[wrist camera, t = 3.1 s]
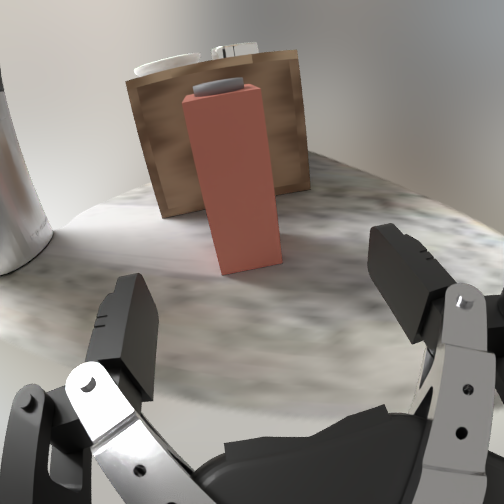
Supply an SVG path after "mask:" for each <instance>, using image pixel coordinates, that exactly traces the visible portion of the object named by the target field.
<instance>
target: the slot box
mask: <svg viewBox="0 0 504 504" xmlns="http://www.w3.org/2000/svg"><path fill="white" fill-rule="evenodd" d="M240 77H242V78H243V82H244V85H245V84H251V85H254V86H256V87H258V88H261V94H262V101H263V108H264V115H265V122H266V130H267V137H268V145H269V152H270V160H271V168H272V176H273V184H274V192H275V195H281V194H286V193H292V192H298V191H304V190H310V174H309V160H308V149H307V136H306V125H305V115H304V105H303V97H302V87H301V78H300V70H299V62H298V54H297V50H286V51H274V52H264V53H256V54H248V55H241V56H234V57H227V58H221V59H216V60H211V61H205V62H200V63H195V64H190V65H186V66H181V67H177V68H172V69H168V70H164V71H160V72H157V73H153V74H149V75H146V76H142V77H139V78H135V79H132V80H129V81H126V86H127V91H128V95H129V99H130V103H131V107H132V112H133V116H134V120H135V124H136V127H137V132H138V135H139V139H140V143H141V147H142V150H143V154H144V158H145V161H146V165H147V168H148V172H149V175H150V179H151V182H152V186H153V189H154V192H155V196H156V199H157V202H158V206H159V209H160V212H161V215H162V218H167V217H171V216H176V215H180V214H185V213H190V212H194V211H199V210H204V209H205V205H204V201H203V197H202V192H201V188H200V184H199V179H198V175H197V171H196V166H195V162H194V158H193V153H192V149H191V144H190V140H189V135H188V130H187V126H186V121H185V116H184V112H183V107H182V102H183V100H184V98H185V97H186V96H187V95H191V94H194V91H193V86H196V85H199V84H203V83H207V82H212V81H217V80H223V79H230V78H240Z"/></svg>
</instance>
